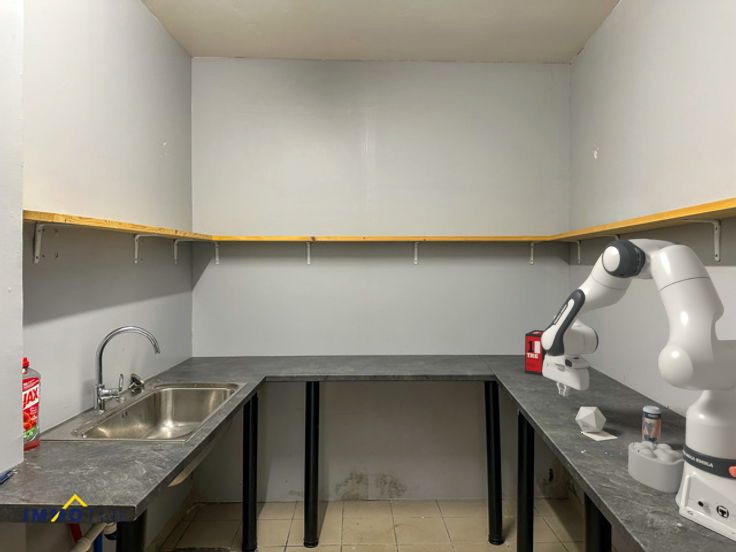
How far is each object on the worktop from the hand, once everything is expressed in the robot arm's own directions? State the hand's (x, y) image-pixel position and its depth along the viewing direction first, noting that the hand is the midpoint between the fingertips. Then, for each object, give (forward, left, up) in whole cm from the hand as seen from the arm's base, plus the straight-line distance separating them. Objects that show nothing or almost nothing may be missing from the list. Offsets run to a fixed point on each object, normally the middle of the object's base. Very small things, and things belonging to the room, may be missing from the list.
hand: (563, 395), depth 159 cm
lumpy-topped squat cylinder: (-44, +8, -9) cm, 45 cm away
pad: (-17, 0, -8) cm, 19 cm away
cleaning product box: (+60, -35, -9) cm, 70 cm away
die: (-10, 0, -5) cm, 11 cm away
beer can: (-28, -9, -8) cm, 30 cm away
